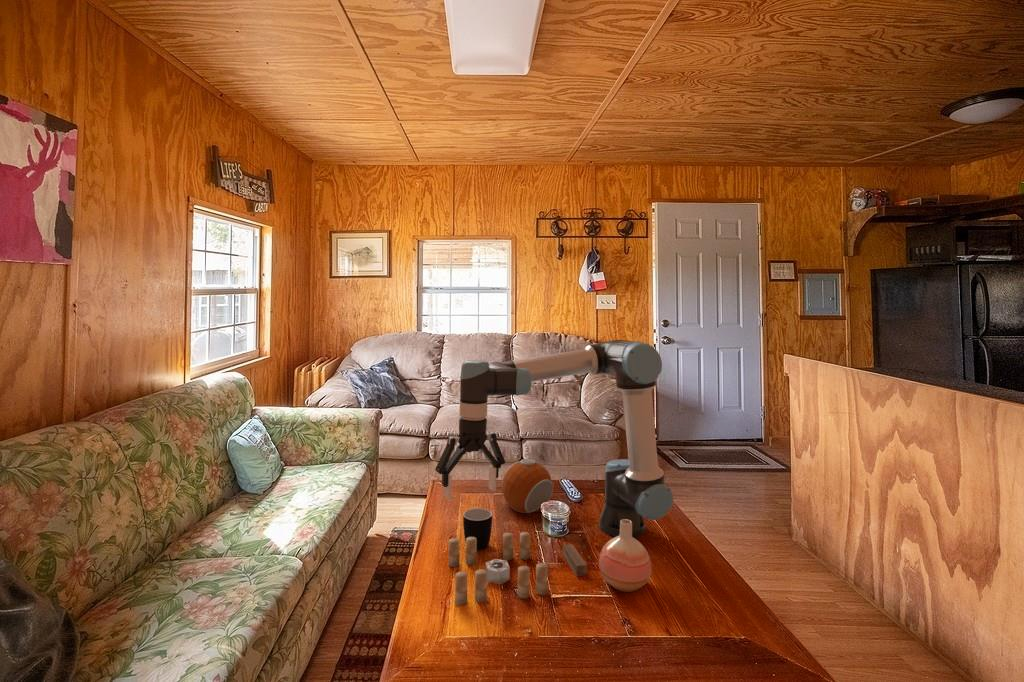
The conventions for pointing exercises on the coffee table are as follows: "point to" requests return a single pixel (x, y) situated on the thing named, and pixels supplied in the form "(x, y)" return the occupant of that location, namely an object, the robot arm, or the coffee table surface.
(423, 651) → the coffee table surface
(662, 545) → the coffee table surface
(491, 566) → the nut
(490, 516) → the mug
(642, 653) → the coffee table surface
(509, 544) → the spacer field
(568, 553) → the rail
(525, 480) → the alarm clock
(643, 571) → the vase
